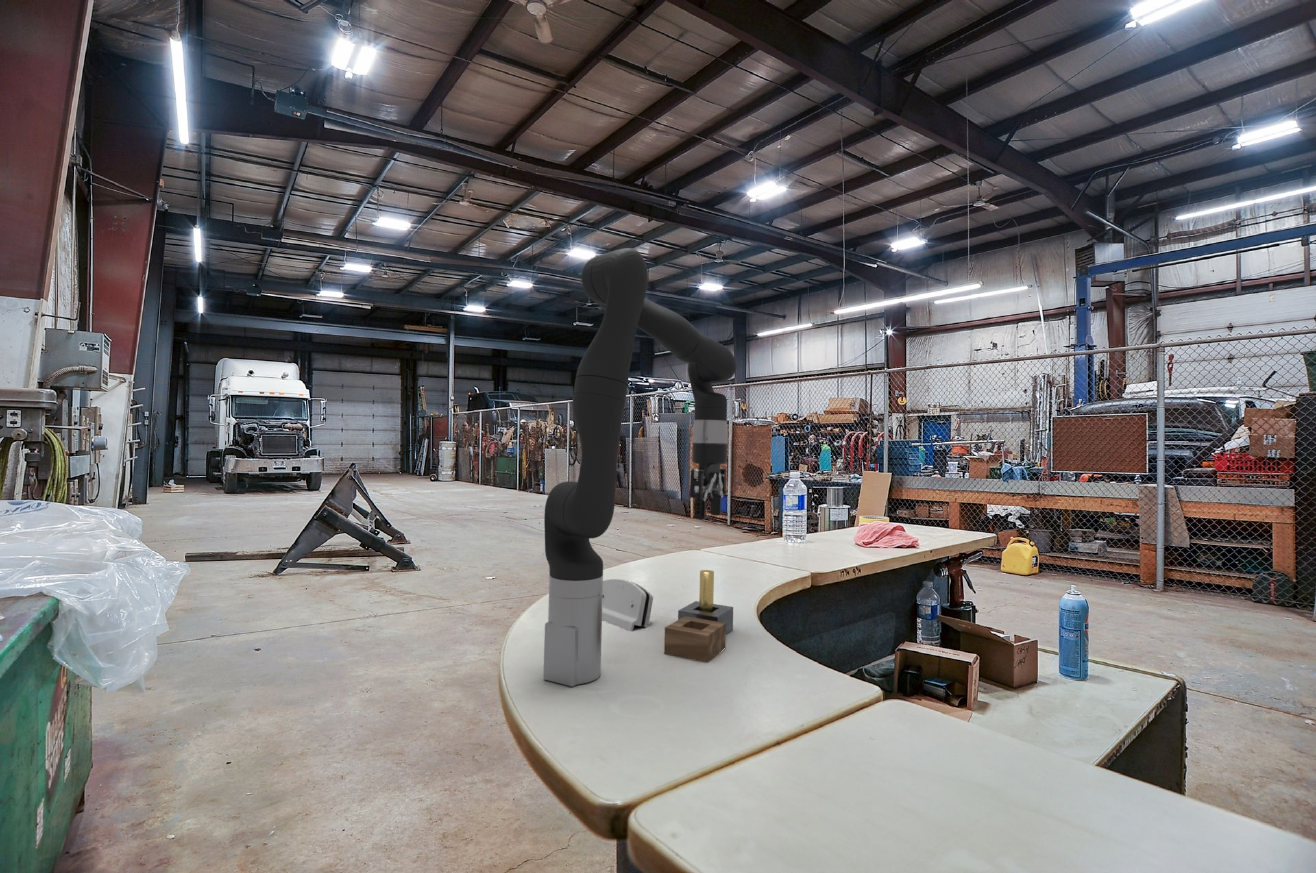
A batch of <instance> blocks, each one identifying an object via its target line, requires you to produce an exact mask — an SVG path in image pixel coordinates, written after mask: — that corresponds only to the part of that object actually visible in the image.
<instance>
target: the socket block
mask: <svg viewBox="0 0 1316 873" xmlns="http://www.w3.org/2000/svg"><path fill="white" fill-rule="evenodd" d="M684 616H687V617H693V618H699V619H705V620H710V621H716V622H722V623H726V636H727V635H728V634H730V633H731V632H732V631H733V630H734V606H729V605H724V604H715V603H713V612H712V613H710V612H704V611H699V601H698V600H695V601H693V602H691V603H689V604H688V605H686V606H684V607H682V608H681V609H678V611H677V620H679V619H681V618H682V617H684Z"/></svg>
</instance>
